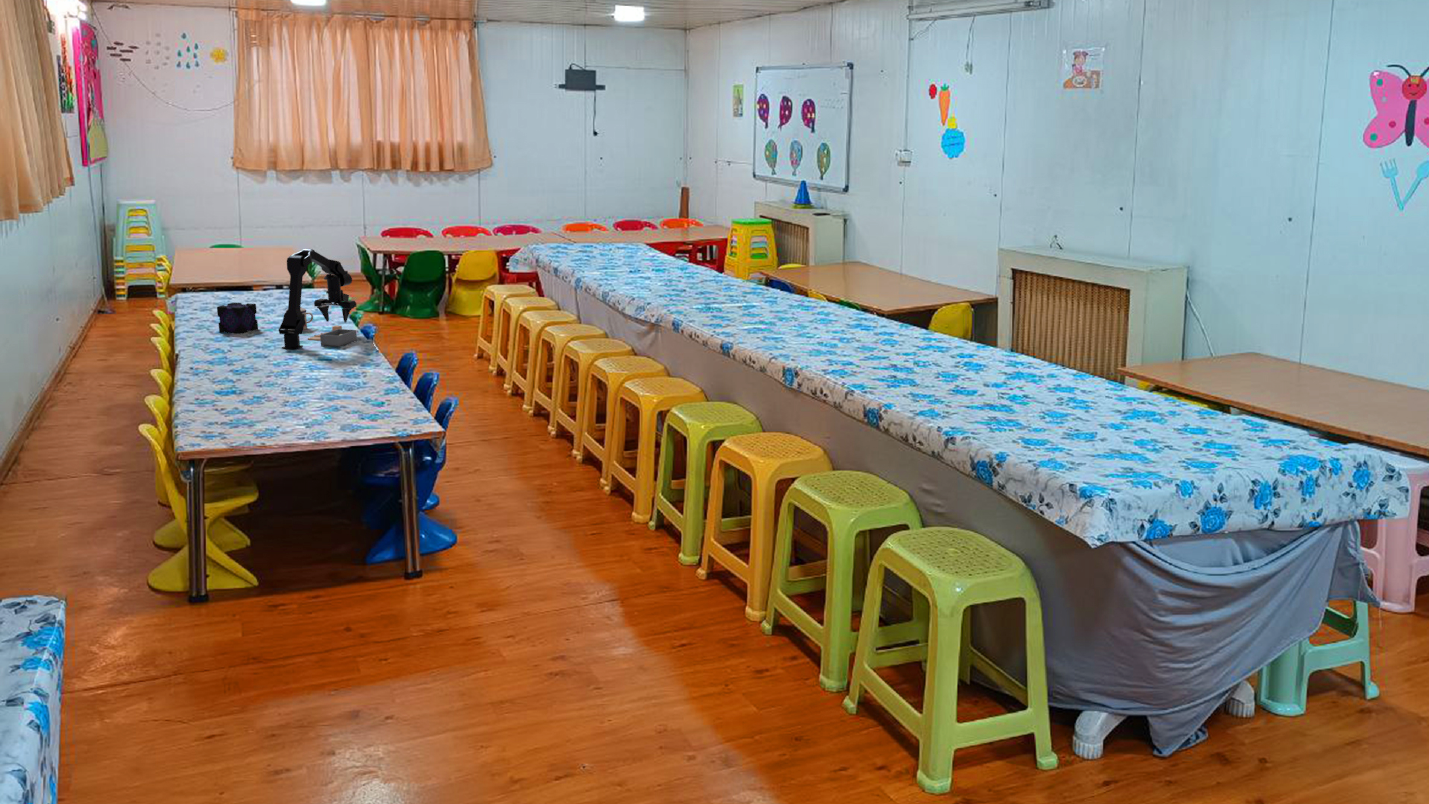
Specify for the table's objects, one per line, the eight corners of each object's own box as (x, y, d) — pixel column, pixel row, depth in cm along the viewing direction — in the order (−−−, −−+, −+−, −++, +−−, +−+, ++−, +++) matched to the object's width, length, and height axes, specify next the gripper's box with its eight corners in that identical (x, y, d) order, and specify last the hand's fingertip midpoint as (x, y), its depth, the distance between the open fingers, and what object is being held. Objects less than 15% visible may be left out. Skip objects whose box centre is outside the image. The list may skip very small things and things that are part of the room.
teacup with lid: (289, 331, 533) (287, 306, 530) (285, 328, 540) (283, 303, 537) (316, 329, 539) (314, 304, 536) (311, 325, 547) (309, 301, 544)
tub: (339, 347, 501) (338, 336, 499) (321, 346, 503) (320, 334, 502) (356, 341, 514) (356, 330, 512) (339, 339, 516) (338, 328, 515)
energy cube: (219, 332, 529) (216, 306, 526) (235, 327, 541) (233, 302, 538) (242, 334, 527) (239, 308, 524) (258, 329, 538) (255, 303, 535)
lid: (327, 341, 513) (326, 333, 512) (307, 340, 516) (307, 332, 515) (348, 333, 529) (348, 326, 528) (330, 332, 532) (329, 324, 531)
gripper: (361, 286, 529) (364, 320, 533) (326, 284, 534) (328, 317, 538) (348, 290, 518) (350, 324, 522) (312, 288, 523) (314, 322, 527)
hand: (336, 322), depth 528 cm, fingers open, 9 cm apart
